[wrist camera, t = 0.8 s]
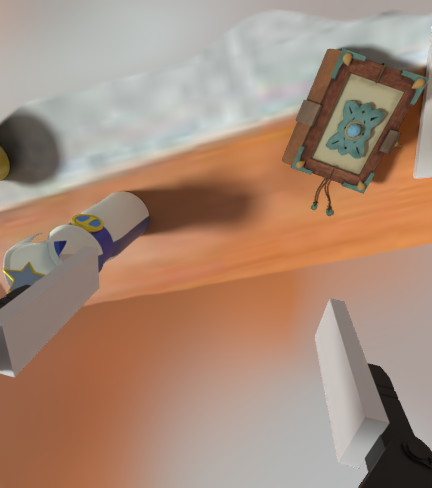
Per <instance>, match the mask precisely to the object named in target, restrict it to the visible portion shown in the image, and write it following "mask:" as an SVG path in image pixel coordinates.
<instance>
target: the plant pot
mask: <svg viewBox="0 0 432 488" xmlns="http://www.w3.org/2000/svg"><path fill="white" fill-rule="evenodd" d="M9 170H10V163H9V159H8V156H7V154H6V153H5V151H4V150H3V148H2V147H1V146H0V181H1V180H3V179H4V178H5V177H6V176H7V175H8V173H9Z"/></svg>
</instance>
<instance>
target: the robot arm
mask: <svg viewBox="0 0 432 488" xmlns="http://www.w3.org/2000/svg"><path fill="white" fill-rule="evenodd" d="M98 289H99V270H98V248H94V247H89V246H84V247H82V248H81V249H80V250H78V251H77V252H76V253H74V254H73V255H72V256H70V257H69V258H68V259H66V260H65V261H64V262H62V263H61V264H60V265H58V266H57V267H56V268H54V269H53V270H52V271H50V272H49V273H48V274H46V275H45V276H44V277H42V278H41V279H40V280H38V281H37V282H36V283H34V284H33V285H32V286H31V285H27V284H26V285H24V286H21V287H19V288H16V289H14V290H13V291H11V292H10V293H8V294H7V295H6V296H5V297H4V298H1V299H0V374H4V375H8V376H12V377H15V376H16V375H17V374H18V373H19V372H20V371H21V370H22V369H23V368H24V367H25V366H26V365H27V364H28V363H29V361H30V360H31V359H32V358H33V357H34V356H35V355H36V354H37V353H38V352H39V351H40V350H41V349H42V348H43V347H44V345H45V344H46V343H47V342H48V341H49V340H50V339H51V338H52V337H53V336H54V335H55V334H56V333H57V332H58V331H59V330H60V329H61V327H63V326H64V324H65V323H66V322H67V321H68V320H69V319H70V318H71V317H72V316H73V315H74V314H75V313H76V312H77V311H78V310H79V309H80V308H81V307H82V305H83V304H84V303H85V302H86V301H87V300H88V299H89V298H90V297H91V296H92V295H93V294H94V293H95V292H96V291H97V290H98ZM315 342H316V347H317V353H318V358H319V364H320V369H321V374H322V380H323V385H324V390H325V396H326V401H327V407H328V412H329V417H330V422H331V428H332V433H333V439H334V444H335V450H336V455H337V460H338V463H339V464H343V465H347V466H351V467H354V468H358V469H359V468H360V467H361V465H362V464H363V462H364V461H366V465H367V469H368V474H367V475H366V477H365V478H364V480H363V481H362V482H361V484H360V485H359V487H358V488H432V451H431V450H430V449H429V447H428V446H427V445H426V444H425V443H424V442H422V441H421V440H420V439H418V438H417V437H415V435H414V433H413V431H412V429H411V426H410V424H409V422H408V419H407V417H406V415H405V412H404V410H403V408H402V406H401V403H400V401H399V400H398V397H397V394H396V392H395V391H394V387H393V385H392V382H391V380H390V378H389V377H388V375H387V374H386V373H385V372H384V370H383V369H382V368H381V367H380V366H377V365H373V364H368V363H367V362H366V359H365V356H364V353H363V350H362V348H361V345H360V343H359V340H358V337H357V335H356V332H355V329H354V327H353V324H352V321H351V318H350V316H349V313H348V310H347V307H346V305H345V302H344V301H339V300H334V299H329V302H328V304H327V307H326V309H325V312H324V315H323V317H322V319H321V322H320V325H319V327H318V330H317V332H316V335H315Z"/></svg>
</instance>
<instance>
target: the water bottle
mask: <svg viewBox="0 0 432 488" xmlns="http://www.w3.org/2000/svg"><path fill="white" fill-rule="evenodd" d="M148 225H149V212H148V209H147V207H146V206H145V204H144V203H143V201H142V200H141V199H140V198H139V197H137V196H136V195H134V194H132V193H130V192H125V191H118V192H115V193H112V194H111V195H109V196H108V197H106V198H105V199H103V200H102V201H100V202H99V203H97V204H96V205H94V206H92V207H91V208H89V209H87V210H85V211H84V212H82V213H81V214H78V215H75V216H74V217H73V218H72V219H71V223H70V224H68V225H61V226H58V227H56V228H55V229H53V230H52V231H51V232H50V234H49V236H48V239H47V240H46V241H44V242H40V243H31V240H32V239H33V238H34V237H35V236H36V235H39V234H42V233H39V234H36V235H33V236H30V237H28V238H25V239H23V240H22V241H20V242H18V243H17V244H16V245H14V246H13V247H11V248H10V249H9V250H8V251H7V252H6V254H5V256H4V261H3V269H2V271H3V272H4V276H5V279H6V282H7V284H8V285H9V287H10V289H9V291H8V293H10V292H11V291H13V290H14V289H16V288H19V287H21V286H24V285H26V284H27V285H31V286H32V285H33V284H34V283H36V282H37V281H38V280H40V279H41V278H42V277H44V276H45V275H46V274H48V273H49V272H50V271H52V270H53V269H54V268H56V267H57V266H58V265H60V264H61V263H62V262H64V261H65V260H66V259H68V258H69V257H70V256H72V255H73V254H74V253H76V252H77V251H78V250H80V249H81V248H82V247H84V246H89V247H94V248H98V270H99V272H100V271H101V269H102V267H103V264H104V263H105V262H107V261H109V260H111V259H113V258H115V257H116V256H117V255H119V254H120V253H121V252H122V251H123V250H124V249H125V248H126V247H127V246H128V245H130V244H131V243H132V242H133V241H134V240H136V239H137V238H138V237H139V236H141V235H142V234H143V233H144V232H145V231H146V230H147V228H148Z"/></svg>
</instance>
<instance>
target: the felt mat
mask: <svg viewBox="0 0 432 488" xmlns="http://www.w3.org/2000/svg"><path fill="white" fill-rule="evenodd" d="M425 77H426V78H429V80H428V82H427V84H426V86H425V87H424V92H423V100H422V108H421V117H420V125H419V133H418V141H417V149H416V157H415V165H414V173H413V178H415V179H417V178H428V177H432V27H431V36H430V44H429V52H428V60H427V68H426V76H425Z"/></svg>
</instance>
